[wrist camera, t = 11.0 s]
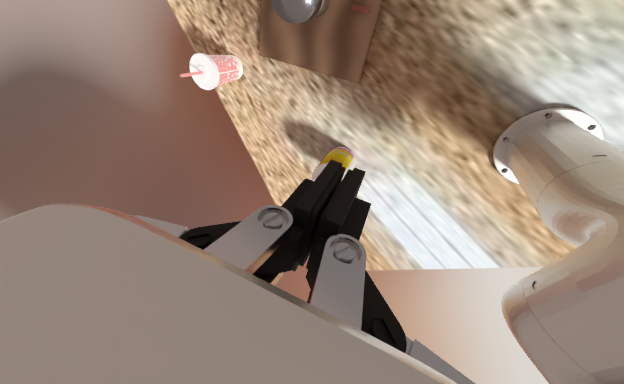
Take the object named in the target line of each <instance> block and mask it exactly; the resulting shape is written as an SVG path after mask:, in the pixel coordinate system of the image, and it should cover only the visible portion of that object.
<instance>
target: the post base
mask: <svg viewBox="0 0 624 384" xmlns="http://www.w3.org/2000/svg"><path fill="white" fill-rule="evenodd" d="M382 1H383V0H323V1H322V5H321V8H320V10H319V12H318V14H317V15H316V16H315V17H314V18H313V19H312V20H311V21H310V22H308V23H305V24H293V23H288V22H286V21H284V20H283V19H281V18H280V17H279V16H278V14H277V13H276V11H275V9H274V7H273V5H272V1H271V0H261V21H260V45H259V55H261V56H265V57H268V58H272V59H275V60H279V61H282V62H285V63H289V64H292V65H296V66H299V67H303V68H306V69H310V70H313V71H317V72H320V73H324V74H327V75H331V76H334V77H338V78H341V79H345V80H348V81H352V82H355V83H359V82H360V79H361V75H362V72H363V68H364V65H365V61H366V58H367V54H368V51H369V47H370V44H371V40H372V37H373V33H374V29H375V26H376V22H377V19H378V15H379V12H380V8H381V5H382Z"/></svg>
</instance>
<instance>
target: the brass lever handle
mask: <svg viewBox="0 0 624 384" xmlns="http://www.w3.org/2000/svg"><path fill="white" fill-rule="evenodd" d="M271 1H272V5H273V7H274V9H275V11H276V13H277V14H278V16H279V17H280V18H281V19H283V20H284V21H286V22H288V23H293V24H305V23H308V22H310V21H311V20H312V19H313V18H314V17H315V16H316V15H317V14H318V12H319V10H320V8H321V5H322V1H323V0H271Z"/></svg>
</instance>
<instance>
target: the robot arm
mask: <svg viewBox="0 0 624 384" xmlns="http://www.w3.org/2000/svg"><path fill="white" fill-rule="evenodd" d="M546 113H548V115H546V116H545V114H546ZM589 125H590V126H589ZM588 126H589V127H588ZM505 137H506V139H503V138H505ZM493 161H494V165H495V167H496V169H497V170H498V172H499V173H500V174H501V175H502V176H503V177H504V178H506V179H507V180H509V181H511V182H514V183H517V184H520V186H521V187H522V189H523V190H524V192H525V194H526V195H527V197H528V198H529V200H530V202H531V203H532V205H533V206H534V208H535V210H536V211H537V213H538V214H539V216H540V217H541V219H542V220H543V222H544V223H545V225H546V226H547V227H548V228H549V230H550V231H552V232H553V233H554V234H555V235H556V236H558V237H559V238H561V239H563V240H565V241H566V242H568V243H570V244H573V245H575V246H578V248H576V249H574V250H572V251H571V252H569V253H567V254H565V256H564V257H562V258H560V259H558V260H557V261H555V262H553V263H551V264H549V265H548V266H546V267H544V268H542V269H540V270H539V271H537V272H535V273H533V274H531V275H529V276H528V277H525V278H524V279H522V280H520V281H519V282H517V283H515V284H514V285H512V286H511V287H510V288H509V289H508V290H507V291H506V292H505V294H504V296H503V298H502V312H503V315H504V318H505V321H506V323H507V325H508V327H509V329H510V330H511V332H512V334H513V335H514V337H515V339H516V340H517V342H518V343H519V345H520V346H521V347H522V349H523V350H524V352H525V353H526V354H527V356H528V357H529V358H530V360H531V361H532V362H533V363H534V365H535V366H536V367H537V369H538V370H539V371H540V372H541V374H542V375H543V376H544V377H545V379H546V380H547V381H548V383H549V384H624V152H623V151H621V150H620V149H618V148H616V147H615V146H613V145H611V144H609V143H608V142H606V141H604V137H603V131H602V128H601V126H600V124H599V123H598V122H597V121H596V120H595V119H594V118H593V117H591V116H590V115H588V114H586V113H584V112H582V111H579V110H575V109H571V108H548V109H544V110H539V111H536V112H533V113H530V114H528V115H526V116H524V117H522V118H520V119H518V120H516V121H515V122H514V123H512V124H511V125H509V126H508V127H507V128H506V129H505V130H504V131H503V132H502V134H501V135H500V136H499V137H498V139H497V141H496V143H495V145H494V149H493ZM504 168H505V169H504ZM345 169H346V168H345V167H342V163H340V162H337V161H335V160H332V159H331V160H330V162H329V163H328V164H327V165H326V167H325V168H324V169H323V171H322V172H321V173H320V174H319V176H318V177H317V178H316V180H315V181H312V180H309V179H305V180H304V181H303V182H302V183H301V184H300V185H299V186H298V188H297V189H296V190H295V191H294V192H293V193H292V195H291V196H290V197H289V198H288V199H287V200H286V202H285V203H284V204H283V205H282V206H277V205H267V206H263V207H261V208H259V209H258V210H256V211H255V212H254V213H252V214H251V215H250V216H248V217H247V218H246V219H244V220H243V221H239V222H232V223H225V224H218V225H212V226H205V227H198V228H194V229H191V230H187V227H185V226H181V225H177V224H173V223H169V222H164V221H160V220H156V219H152V218H148V217H144V216H136V215H133V216H130V215H127V214H124V213H121V212H118V211H115V210H111V209H107V208H102V207H98V206H92V205H83V204H53V205H46V206H42V207H39V208H35V209H32V210H30V211H27V212H24V213H21V214H18V215H15V216H13V217H10V218H8V219H5V220H3V221H0V384H475V383H473V382H472V381H471V380H470V379H468V378H467V377H465V376H464V375H463V374H461V373H460V372H459V371H457V370H456V369H455V368H453V367H452V366H451V365H449V364H448V363H447V362H445V361H444V360H442V359H441V358H440V357H439V356H437V355H436V354H434V353H433V352H432V351H431V350H429V349H428V348H427V347H425V346H424V345H423V344H421V343H420V342H418V341H417V340H414V341H412V340H410V339H409V338H408V337H406V336H405V333H404V331H403V329H402V327H401V325H400V323H399V322H398V320H397V319H396V317H395V316H394V314H393V312H392V311H391V309H390V308H389V306H388V304H387V303H386V301H385V300H384V298H383V297H382V295H381V294H380V292H379V290H378V289H377V287H376V286H375V285H374V282H373V281H372V279H371V278H370V276H369V275H368V273H367V271H366V270H365V268H366V251H365V249H364V247H363V245H362V244H361V243H360V242H359V239H360V236H361V233H362V230H363V227H364V224H365V221H366V218H367V215H368V212H369V209H370V206H371V203H368V202H365V201H363V200H360V199H358V198H356V196H357V193H358V191H359V188H360V185H361V183H362V180H363V177H364V175H365V171H362V170H359V169H357V168H354V169H353V170H350V169H349V170H348V171H347V173H346V175H345V176H344V178H343V175H344V172H345ZM342 179H343V180H342ZM309 254H310V256H309ZM308 256H309V259H308V263H307V267H306V268H307V269H308V272H307V275H306V279H307V281H308V284H309V286H310V288H311V290H310V293H309V297H308V300H307V302H305V301H303V300H301V299H299V298H297V297H295V296H293V295H291V294H289V293H287V292H285V291H283V290H281V289H279V288H277V287H275V286H274V285H275V284H276V283H277V282H278V281H279V279H280V278H281V276H282V275H283V272H286V271H291V270H293V271H296V269H297V267H298V265H301V266H303V265H304V263H305V262H306V260H307V258H308Z"/></svg>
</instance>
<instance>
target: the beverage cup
mask: <svg viewBox="0 0 624 384" xmlns="http://www.w3.org/2000/svg"><path fill="white" fill-rule="evenodd" d="M190 72H191V73H186V74H180V77H187V76H192V78H193V79H194V81H195V82H196V84H197V85H199V87H200V88H203V89H205V90H211V89H214V88H215V87H217V86H219V85H222V84H225V83H228V82H231V81H234V80H237V79H239V78H240V77H241V76H242V73H243V68H242V64H241V62H240V60H239V59H238V58H237V57H236V56H234V55H206V54H204V53H198V54H194V55H193V56H192V57H191V60H190Z"/></svg>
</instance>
